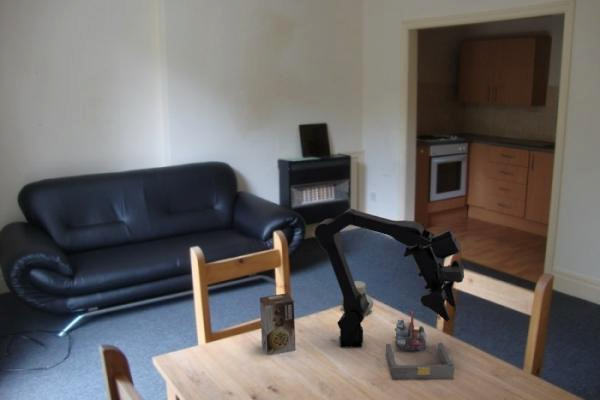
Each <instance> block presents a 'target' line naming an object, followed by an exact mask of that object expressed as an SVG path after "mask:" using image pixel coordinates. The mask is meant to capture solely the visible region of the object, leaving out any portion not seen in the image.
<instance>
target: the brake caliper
mask: <svg viewBox="0 0 600 400" xmlns="http://www.w3.org/2000/svg"><path fill="white" fill-rule="evenodd" d="M410 314H411V315H410V321H408V322H407V321H406V322H405V320H404V319H402V318H401V319H397V322H396V327H394V329H393V330H394V331H395V336H394V338H396V339H397V340H396V339H395V340H394V343H395V344H396V345H397V346H399V347H400V348H401V349H402V350H403V351H406V352H411V351H423V350H424V349H425V348H426V346H427V334H426V332H425V328H424V326H423V325H419V328H415V324H414V321H415V320H414V314H415V312H414V311H413V310H411V312H410Z"/></svg>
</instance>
